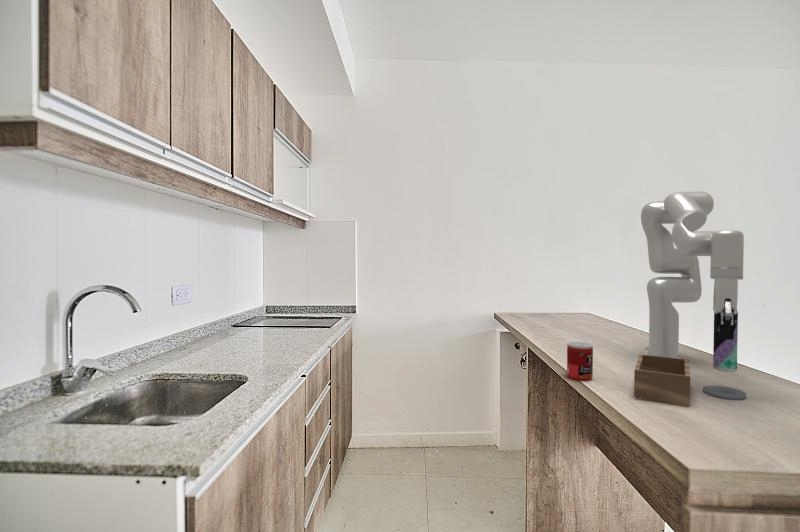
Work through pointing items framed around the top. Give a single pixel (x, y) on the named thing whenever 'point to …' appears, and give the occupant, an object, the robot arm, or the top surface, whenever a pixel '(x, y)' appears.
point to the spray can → (725, 346)
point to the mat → (724, 392)
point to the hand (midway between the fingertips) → (725, 336)
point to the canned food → (580, 361)
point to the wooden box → (662, 380)
